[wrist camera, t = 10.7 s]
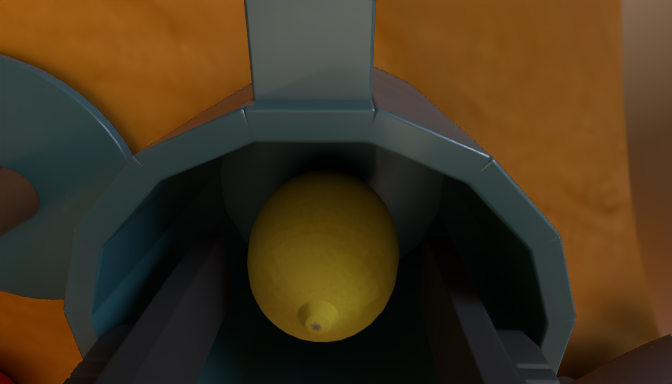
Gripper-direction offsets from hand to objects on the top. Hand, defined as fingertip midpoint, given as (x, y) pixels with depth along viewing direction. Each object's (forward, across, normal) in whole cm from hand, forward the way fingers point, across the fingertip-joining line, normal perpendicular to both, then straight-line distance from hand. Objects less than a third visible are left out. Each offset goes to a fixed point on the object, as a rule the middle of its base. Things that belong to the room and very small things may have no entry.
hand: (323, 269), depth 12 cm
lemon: (+6, 0, 0) cm, 6 cm away
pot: (+7, 0, 0) cm, 7 cm away
